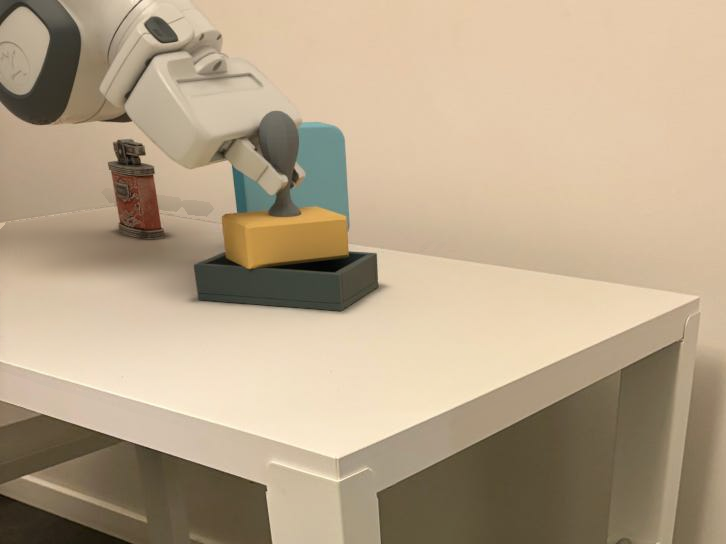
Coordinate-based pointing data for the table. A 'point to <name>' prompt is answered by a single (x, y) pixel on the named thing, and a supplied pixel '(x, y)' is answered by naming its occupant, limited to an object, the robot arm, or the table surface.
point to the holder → (289, 282)
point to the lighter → (135, 191)
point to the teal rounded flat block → (323, 174)
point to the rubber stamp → (283, 214)
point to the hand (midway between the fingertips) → (290, 186)
